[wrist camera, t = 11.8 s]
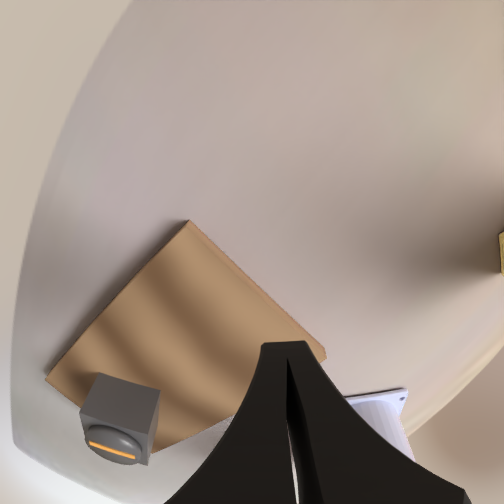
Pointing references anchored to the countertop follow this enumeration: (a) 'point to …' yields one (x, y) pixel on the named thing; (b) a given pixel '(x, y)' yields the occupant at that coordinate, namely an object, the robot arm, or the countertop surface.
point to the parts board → (181, 337)
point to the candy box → (502, 251)
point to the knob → (120, 419)
